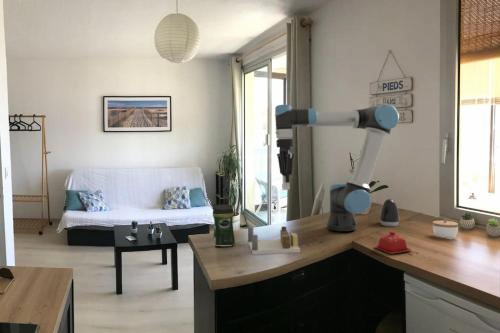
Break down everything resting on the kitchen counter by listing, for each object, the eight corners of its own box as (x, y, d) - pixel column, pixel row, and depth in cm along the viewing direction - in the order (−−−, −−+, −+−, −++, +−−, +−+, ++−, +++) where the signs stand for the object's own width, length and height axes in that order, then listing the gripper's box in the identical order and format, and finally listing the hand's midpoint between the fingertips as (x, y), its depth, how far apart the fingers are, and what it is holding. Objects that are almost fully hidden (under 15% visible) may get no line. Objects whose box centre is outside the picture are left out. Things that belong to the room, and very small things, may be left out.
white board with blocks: (290, 241, 178) (290, 225, 178) (300, 252, 161) (300, 234, 160) (247, 243, 176) (247, 227, 176) (252, 254, 158) (252, 236, 158)
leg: (280, 239, 175) (280, 226, 175) (287, 239, 175) (286, 226, 175) (282, 248, 161) (282, 233, 161) (290, 247, 161) (289, 233, 161)
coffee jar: (233, 242, 178) (232, 202, 177) (236, 247, 170) (235, 205, 169) (212, 244, 176) (211, 203, 175) (214, 248, 168) (213, 206, 167)
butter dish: (390, 256, 154) (391, 235, 154) (372, 249, 165) (372, 229, 165) (413, 253, 158) (413, 232, 158) (393, 246, 169) (393, 227, 169)
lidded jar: (457, 237, 182) (457, 217, 182) (458, 242, 172) (459, 222, 172) (432, 235, 187) (432, 216, 186) (432, 240, 177) (432, 220, 176)
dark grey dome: (401, 226, 209) (401, 198, 208) (397, 229, 200) (397, 200, 199) (382, 224, 214) (382, 197, 214) (377, 227, 206) (377, 199, 205)
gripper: (271, 139, 182) (273, 188, 183) (283, 138, 170) (285, 191, 171) (285, 138, 185) (287, 187, 186) (298, 137, 172) (300, 190, 174)
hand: (286, 189), depth 179 cm, fingers closed
